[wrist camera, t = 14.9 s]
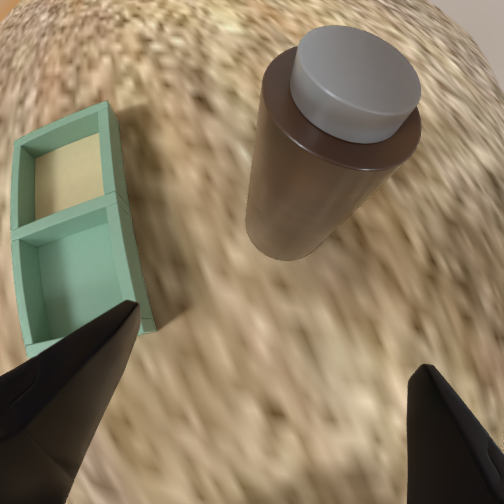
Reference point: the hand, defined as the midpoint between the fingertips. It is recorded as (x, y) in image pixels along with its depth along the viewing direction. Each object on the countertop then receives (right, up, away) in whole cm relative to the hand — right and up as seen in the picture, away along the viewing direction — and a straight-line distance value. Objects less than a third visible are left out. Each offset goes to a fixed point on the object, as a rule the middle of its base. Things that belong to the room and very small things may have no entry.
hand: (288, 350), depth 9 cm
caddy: (-13, +4, +11) cm, 18 cm away
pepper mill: (+1, +5, +12) cm, 13 cm away
